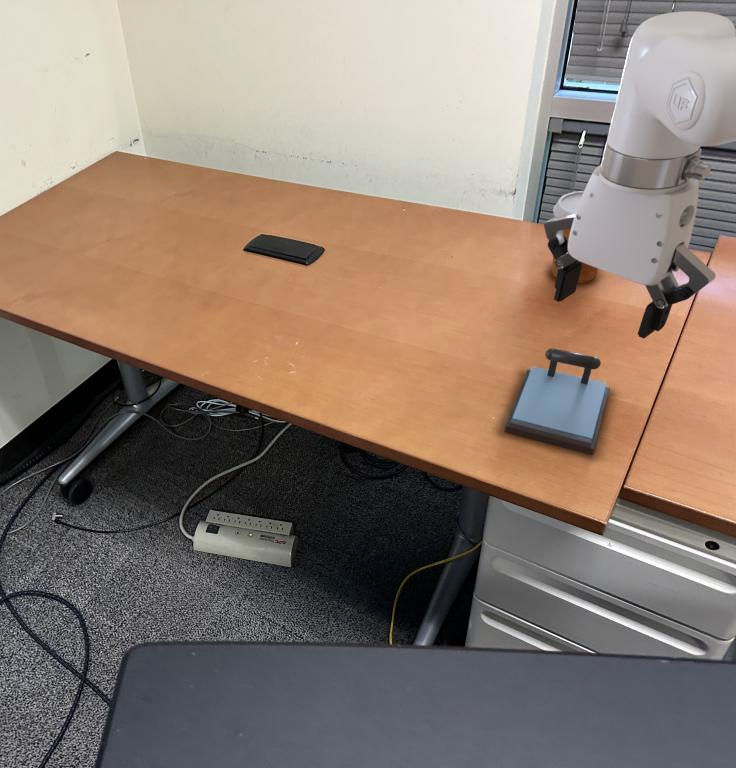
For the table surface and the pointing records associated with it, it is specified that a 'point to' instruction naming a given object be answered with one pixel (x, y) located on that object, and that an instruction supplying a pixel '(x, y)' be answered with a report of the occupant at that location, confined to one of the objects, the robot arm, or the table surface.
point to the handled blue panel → (562, 396)
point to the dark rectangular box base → (554, 436)
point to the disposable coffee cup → (564, 208)
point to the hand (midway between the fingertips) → (604, 313)
